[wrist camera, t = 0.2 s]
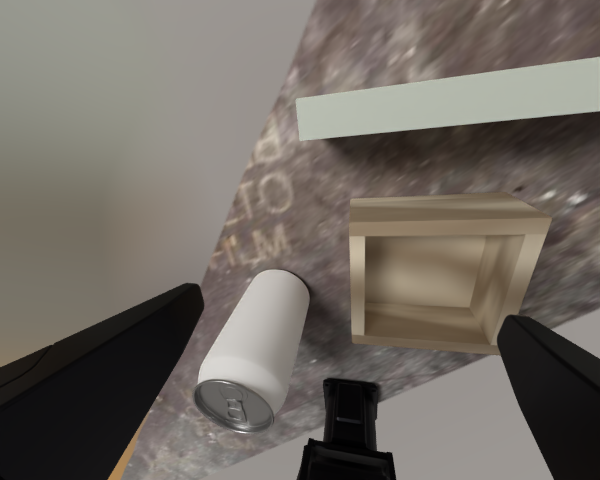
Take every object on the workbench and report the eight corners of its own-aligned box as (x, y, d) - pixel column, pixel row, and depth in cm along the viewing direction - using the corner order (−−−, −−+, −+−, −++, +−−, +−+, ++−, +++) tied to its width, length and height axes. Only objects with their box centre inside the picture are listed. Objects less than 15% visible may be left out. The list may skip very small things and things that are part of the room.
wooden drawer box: (475, 309, 23) (502, 355, 19) (352, 303, 25) (351, 343, 21) (505, 192, 18) (552, 217, 14) (350, 198, 21) (349, 222, 16)
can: (312, 271, 25) (280, 390, 14) (309, 319, 28) (280, 447, 17) (250, 262, 26) (177, 367, 15) (253, 310, 29) (194, 424, 18)
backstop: (616, 100, 15) (757, 95, 10) (315, 132, 19) (299, 140, 14) (631, 60, 14) (797, 29, 9) (313, 102, 18) (295, 98, 13)
